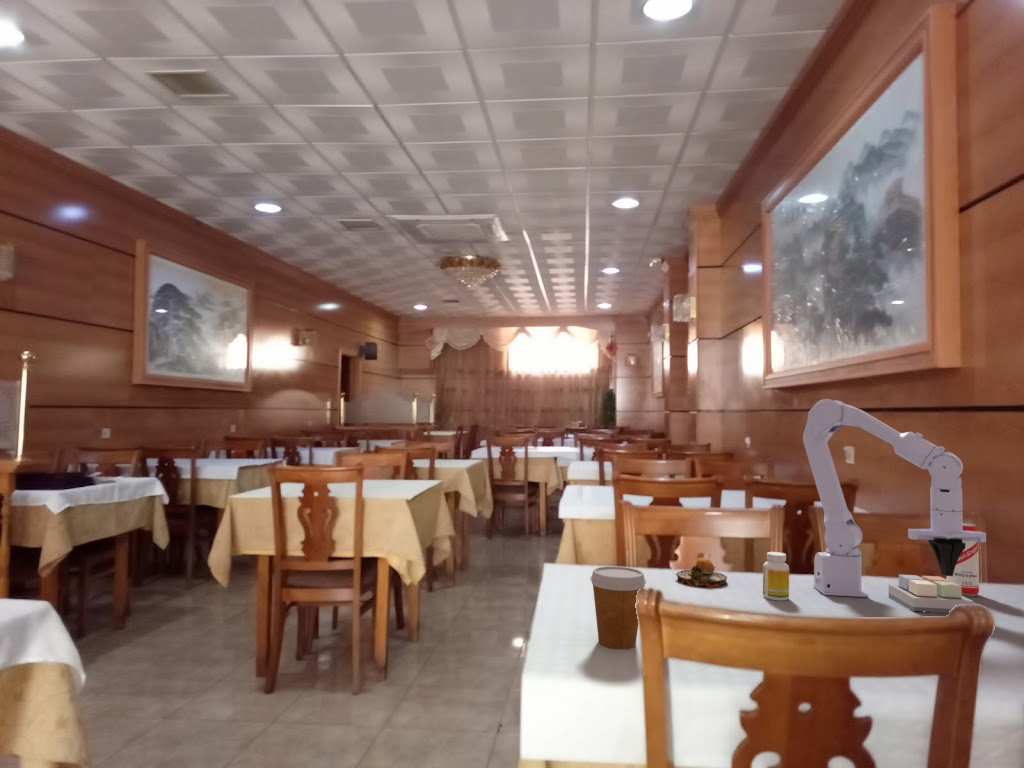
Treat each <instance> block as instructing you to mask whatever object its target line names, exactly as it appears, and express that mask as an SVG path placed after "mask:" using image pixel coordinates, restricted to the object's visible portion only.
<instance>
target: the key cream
mask: <svg viewBox="0 0 1024 768" xmlns="http://www.w3.org/2000/svg"><path fill="white" fill-rule="evenodd" d="M909 591H910V592H912V593H914V594H915V595H917V596H935V597H937V585H936V584H934V583H932V582H930V581H926V580H909Z"/></svg>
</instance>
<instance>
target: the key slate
mask: <svg viewBox="0 0 1024 768" xmlns="http://www.w3.org/2000/svg"><path fill="white" fill-rule="evenodd" d="M909 580H925V579H923V578H922V576H919V575H917V574H916V575H915V574H898V585H899V586H900V587H902V588H904V589H906V590H909Z"/></svg>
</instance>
